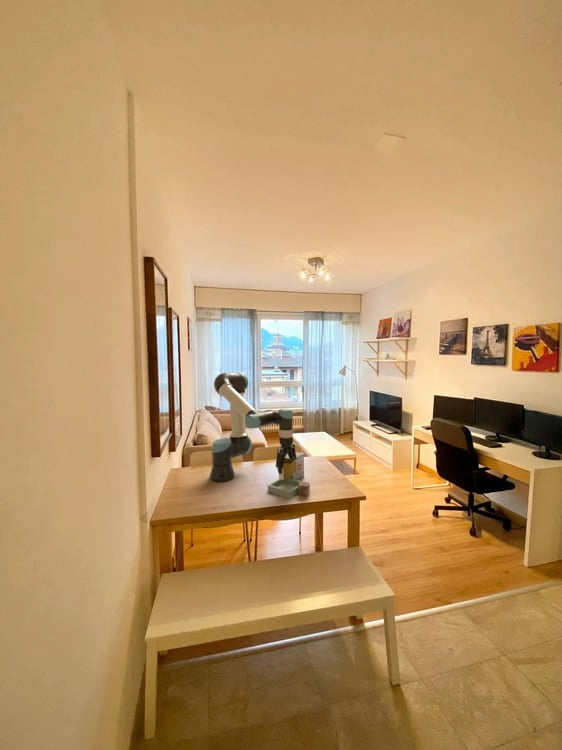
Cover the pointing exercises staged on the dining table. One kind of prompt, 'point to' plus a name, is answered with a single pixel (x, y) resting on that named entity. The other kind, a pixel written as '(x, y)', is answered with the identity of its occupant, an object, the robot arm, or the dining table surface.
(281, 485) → the tray
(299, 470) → the box
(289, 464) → the flower pot
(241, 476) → the dining table surface
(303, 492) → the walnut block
